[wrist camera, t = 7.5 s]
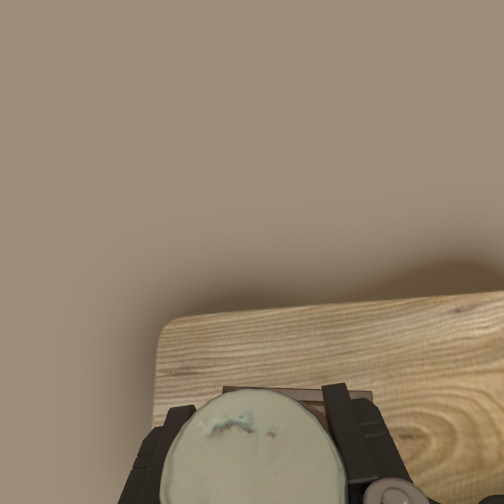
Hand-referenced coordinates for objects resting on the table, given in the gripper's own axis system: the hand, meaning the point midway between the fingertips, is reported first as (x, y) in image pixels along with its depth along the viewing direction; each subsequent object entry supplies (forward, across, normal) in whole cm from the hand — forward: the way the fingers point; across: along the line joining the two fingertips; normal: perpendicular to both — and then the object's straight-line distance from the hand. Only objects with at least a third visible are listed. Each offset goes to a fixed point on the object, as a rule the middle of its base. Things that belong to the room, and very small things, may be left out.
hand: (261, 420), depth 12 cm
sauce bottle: (+10, 0, +13) cm, 16 cm away
